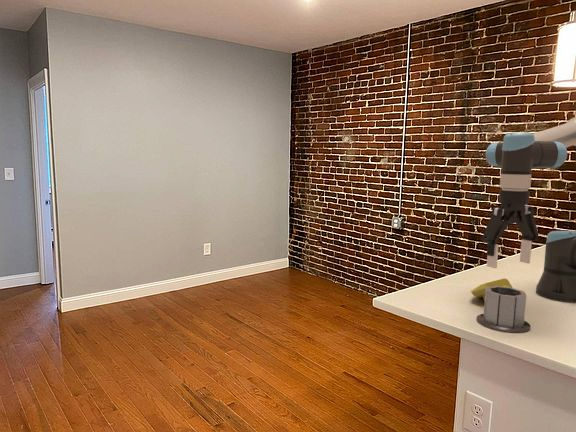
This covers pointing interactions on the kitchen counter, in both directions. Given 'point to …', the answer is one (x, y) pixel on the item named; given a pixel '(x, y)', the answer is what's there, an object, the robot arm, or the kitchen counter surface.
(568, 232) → the robot arm
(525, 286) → the kitchen counter surface
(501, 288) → the collar
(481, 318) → the duct stub
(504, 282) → the plastic component
